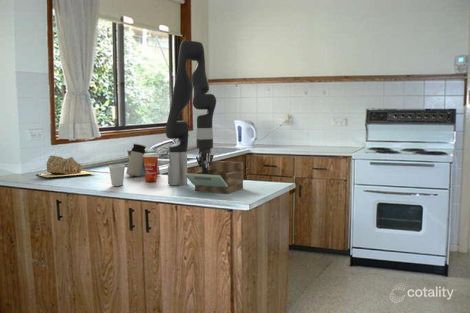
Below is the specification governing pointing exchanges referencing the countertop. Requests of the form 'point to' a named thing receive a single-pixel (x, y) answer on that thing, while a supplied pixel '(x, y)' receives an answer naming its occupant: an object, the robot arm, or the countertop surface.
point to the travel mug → (136, 160)
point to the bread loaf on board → (63, 167)
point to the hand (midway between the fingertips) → (205, 175)
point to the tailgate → (206, 180)
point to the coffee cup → (150, 166)
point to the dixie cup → (117, 174)
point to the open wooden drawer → (224, 176)
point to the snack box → (143, 160)
